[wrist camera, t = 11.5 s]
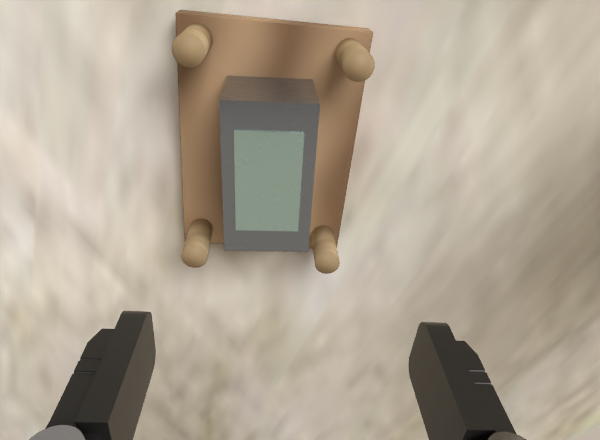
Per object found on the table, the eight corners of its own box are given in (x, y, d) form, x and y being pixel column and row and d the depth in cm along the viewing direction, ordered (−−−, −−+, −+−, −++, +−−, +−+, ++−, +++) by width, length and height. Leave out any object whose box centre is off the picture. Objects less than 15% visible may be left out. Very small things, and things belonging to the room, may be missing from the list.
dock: (368, 28, 27) (386, 43, 23) (334, 237, 35) (342, 279, 30) (180, 9, 26) (162, 22, 22) (187, 230, 34) (175, 271, 29)
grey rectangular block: (312, 79, 27) (320, 104, 22) (303, 210, 31) (308, 252, 27) (227, 75, 26) (218, 100, 22) (231, 208, 31) (224, 251, 27)
